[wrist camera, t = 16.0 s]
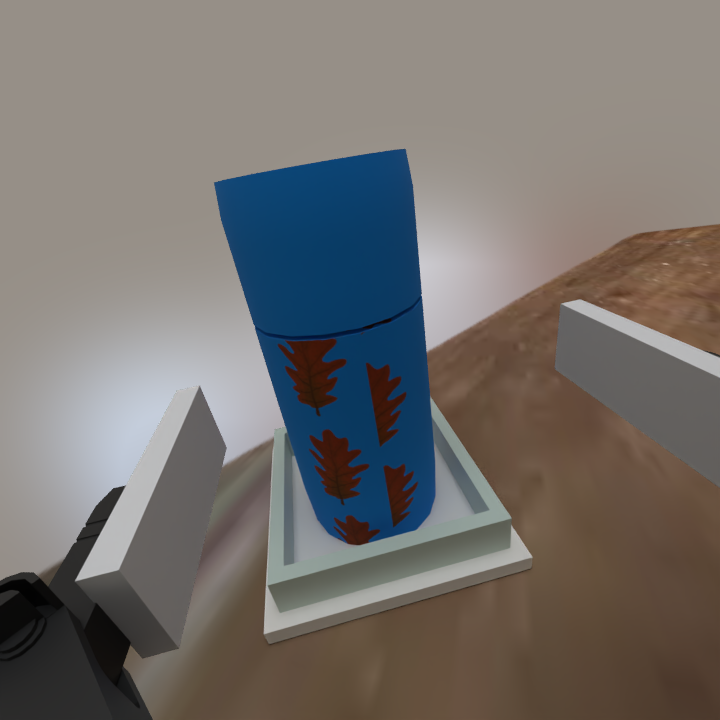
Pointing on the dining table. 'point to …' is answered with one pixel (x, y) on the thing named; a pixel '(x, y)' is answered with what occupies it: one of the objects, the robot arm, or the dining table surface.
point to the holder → (382, 546)
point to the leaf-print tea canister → (342, 333)
